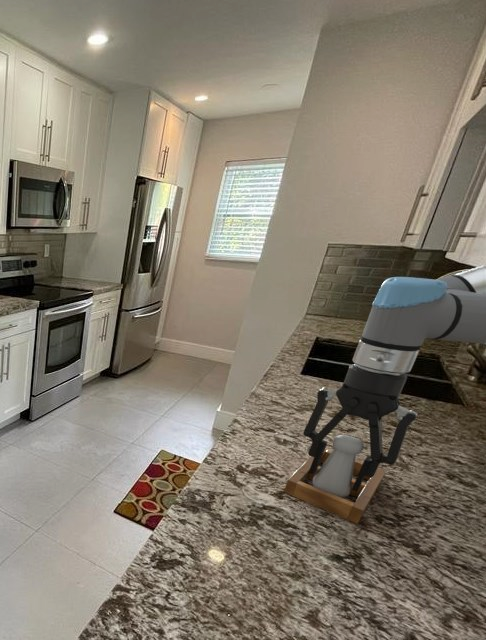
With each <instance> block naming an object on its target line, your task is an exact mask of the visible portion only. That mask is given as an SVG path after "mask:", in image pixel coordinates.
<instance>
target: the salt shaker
mask: <svg viewBox="0 0 486 640" xmlns="http://www.w3.org/2000/svg"><path fill="white" fill-rule="evenodd" d="M332 446H333V450H331V451H332V452H331V454H330V455H329V457H328V458H327V460H326V461H325V462H324V464H323V463H322V465H321V468H320V469H319V471H318V472H317V474H316V475H315V476H314V478H313V480H312V486H313V487H316V488H318V489H321V490H323V491H326V492H328V493H331V494H333V495H336V496H338V497H341V498H343V499H346V498H347V497H348V496H350V495H349V494H350V489H351V482H352V478H353V476H354V475H353V469H354V463H355V459H356V456H357V455H360V454H362V452H363V451H364V446H365V445H364V442H363V441H361V439H358V438H357V437H354V436H351V435H346V434H340V435H336V436H335V437H334V439H333V441H332Z"/></svg>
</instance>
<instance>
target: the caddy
mask: <svg viewBox="0 0 486 640" xmlns="http://www.w3.org/2000/svg"><path fill="white" fill-rule="evenodd" d="M332 451H333V450H330V449H327V448H325V450H324V453H323V455H322V458H321V461H320V463H319V466H318V468H317V471H316V472H315V473H314V474H313V475H312V474H309V473H308V472H309V470H310V467H311V464H312V462H313V459H314V457H312V456H309V457H308V458H307V459H306V460H305V461H304V462H303V463H302V465H300V466H299V467H298V468H297V469H296V471H294V473H293V474H292V475H291V476H290V477H289V478H288V479H287V481H286V484H285V487H284V489H283V493H284V492H285V493H284V494H287V495H290V496H291V497H294V498H296V499H298V500H300V501H303V502H305V503H307V504H309V505H312V506H315V507H316V508H319V509H321V510H324V511H326V512H329V513H331V514H334V515H336V516H338V517H341V518H342V519H344V520H347V521H349V522H351V523H354V524H356V525H358V524H359V522H360V520H361V518H362V517H363V515H364V513H365V511H366V510H367V508H368V506H369V504H370V503H371V501H372V499H373V498H374V496H375V494H376V492H377V490H378V489H379V487H380V485H381V483H382V482H383V479H384V477H385V475H386V472H387V469H385V468H383V467H380V466H378V468H377V470H376V472H375V474H374V476H373V477H371V478H370V477H368V476H364V479H365V480H367V482H364V481H362V483H361V486H360V487H359V489H358V491H357V492H356V491H353V490H352V488H353V485H354V483H355V481H356V479H355V478H353V477H352V482H351V489H350V494H349V495H348V496H352V497H354V498H357V499H356V500H355V501H350V500H348V499H346V498H341V497H338V496H336V495H333V494H331V493H328V492H326V491H323V490H321V489H318V488H316V487H313V485H311V484H308V483H306V481H307V480H310V481H311V480H312V481H313V478H314V476H315V475H316V474H317V472H318V471H319V469H320V468H321V467H322V465H323V464H324V462H325V461H326V460H327V458H328V457H329V455H330V454H331V452H332ZM363 462H364V461H362V460H359V459H356V458H355V463H354V469H353V475H352V476H356V477H357V476H358V474H359V471H360V469H361V467H362V465H363ZM321 464H322V465H321ZM320 465H321V466H320ZM364 479H363V480H364Z"/></svg>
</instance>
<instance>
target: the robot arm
mask: <svg viewBox="0 0 486 640" xmlns="http://www.w3.org/2000/svg"><path fill="white" fill-rule="evenodd" d="M426 339H428V340H440V341H450V342H451V341H452V342H460V343H461V342H462V343H472V344H473V343H474V344H482V345H485V346H486V264H483V265H481V266H477V267H474V268H471V269H468V270H465V271H462V272H458V273H455V274H452V275H447V276H444V277H441V278H439V279H438V278H437V279H434V278H433V279H432V278H425V277H410V276H393V277H389V278H386V279H385V280H384V281H383V283H382V284H381V286H380V288H379V289H378V292H377V294H376V296H375V298H374V300H373V302H372V306H371V310H370V312H369V315H368V318H367V321H366V323H365V326H364V329H363V331H362V334H361V337H360V339H359V342H358V344H357V346H356V349H355V351H354V354H353V357H352V359H351V361H352V362H353V363H352V364H351V365H349V367H348V370H347V373H346V375H345V378H344V381H343V383H342V385H341V386H340V387H339V388H338V389H329V388H328V387H322V388H321V389H319V390H318V391H317V394H316V395H317V398H316V399H317V402H316V404H315V407H314V409H313V411H312V412H311V415H310V417H309V419H308V422H307V424H306V425H305V427H304V430H303V432H302V435H303V436H304V437H308V438H309V439H310V440H311V441H312V442H311V445H310V447H309V450H308V456H309V457H310V456H312V457H314V459H313V462H312V464H311V467H310V470H309V472H308V473H309V474H312V475H313V474H314V473H315V472H316V471H317V468H318V466H320V465H319V463H320V461H321V458H322V455H323V453H324V450H325V449H327V448H326V447H327V446H328V441H325V440H324V439H325V438H326V437H327V436H328V435H329V434H330V433H331V432H332V431H333V430H334V429H335V428H336V427H337V426H338V425H339V424H340V423H341V422H342V421H343V420H344V418H345V417H347V416H351V417H358V418H360V419H363V420H366V421H368V428H369V448H370V449H369V450H370V455H367V456H366V457H365V459H364V460H363V461H362V462H363V465H362V467H361V469H360V471H359V474H358V476H356V481H355V483H354V485H353V488H352V490H353V491H356V492H357V491H358V489H359V487H360V486H361V483H362V482H364V476H368V477H370V478H371V477H373V476H374V474H375V472H376V470H377V468H378V467H380V464H388V465H395V464H396V462H397V460H398V458H399V455H400V452H401V449H402V446H403V444H404V441H405V438H406V434H407V433H408V432H407V431H408V428H409V426H410V425H411V424H412V423H413V422H414V421H415V420H416V418H417V417H418V415H419V413H418V411H417V410H414V409H411V410H410V409H408V408H406V407H404V406H402V405H400V395H401V393H402V391H403V388H404V387H405V384H406V382H407V379H408V376H407V373H410V372H411V370H412V369H413V366H414V364H415V362H416V360H417V357H418V355H419V352H420V349H422V348H421V347H422V345H423V344H424V342H425V340H426ZM334 397H336V398H337V400H338V402H339V404H340V406H341V409H339V411H338V412H336V414H335V415H334V416H333V417H332V418H331V419H330V420H329V421H328V422H327V424H326V425H325V426H324V427H323V428H322V429H321V430H320V431H319V432H317V431H316V428H317V426H318V425H319V422H320V420H321V418H322V416H323V414H324V412H325V410H326V408H327V405H328V403H329V402H331V401H332V400H333V399H334ZM393 412H395V413H396V416H395V418H396V420H397V421H399V422H398V423H397V425H396V427H395V431H394V434H393V436H392V440H391V443H390V446H389V447H388V448H389V449H388V451H387V453H384V452H383V429H382V425H383V423H382V422H383V417H384V416H387V415H389V414H391V413H393Z"/></svg>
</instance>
